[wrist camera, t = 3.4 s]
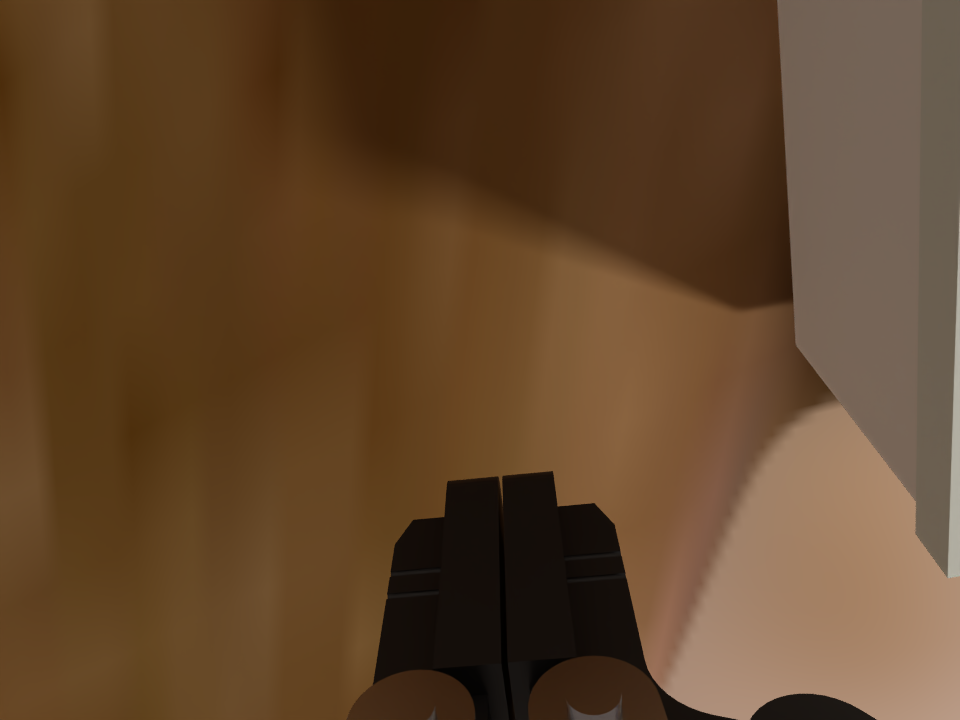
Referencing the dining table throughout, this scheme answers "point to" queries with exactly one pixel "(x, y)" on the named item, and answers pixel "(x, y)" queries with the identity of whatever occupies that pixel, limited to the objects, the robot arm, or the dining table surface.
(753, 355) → the dining table surface
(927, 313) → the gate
